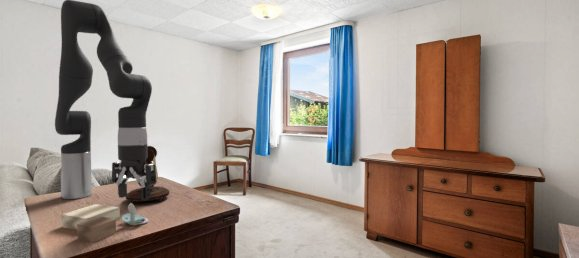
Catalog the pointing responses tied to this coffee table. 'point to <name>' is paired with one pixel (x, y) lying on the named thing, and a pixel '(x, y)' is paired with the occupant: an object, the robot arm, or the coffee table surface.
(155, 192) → the dark brown sculpture
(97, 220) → the walnut block
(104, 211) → the ash block
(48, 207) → the coffee table surface
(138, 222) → the pacifier
